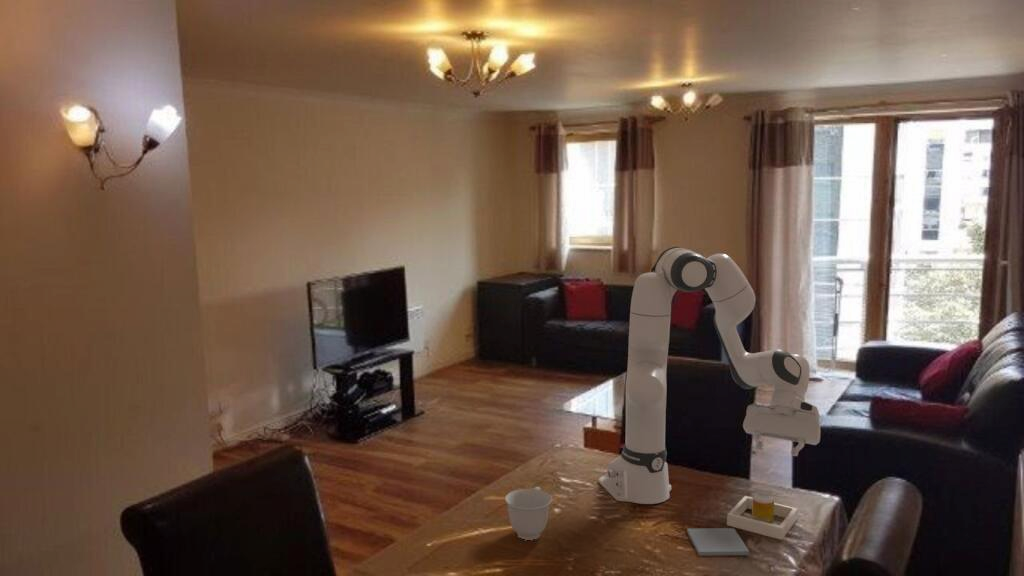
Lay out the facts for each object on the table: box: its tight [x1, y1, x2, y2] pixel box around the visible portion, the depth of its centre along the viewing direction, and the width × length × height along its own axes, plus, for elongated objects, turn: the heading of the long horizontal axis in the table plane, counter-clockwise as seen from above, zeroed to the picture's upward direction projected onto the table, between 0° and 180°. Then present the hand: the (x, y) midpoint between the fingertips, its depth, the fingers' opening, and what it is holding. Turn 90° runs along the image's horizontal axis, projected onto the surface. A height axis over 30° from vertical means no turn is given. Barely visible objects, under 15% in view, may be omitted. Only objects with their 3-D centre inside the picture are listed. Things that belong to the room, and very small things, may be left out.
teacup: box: [504, 486, 553, 541], centre depth 189 cm, size 12×15×10 cm
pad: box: [686, 527, 750, 557], centre depth 184 cm, size 12×12×1 cm
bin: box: [726, 495, 799, 541], centre depth 195 cm, size 14×14×3 cm
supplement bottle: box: [751, 483, 775, 524], centre depth 195 cm, size 5×5×10 cm
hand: (776, 451), depth 203 cm, fingers open, 8 cm apart
